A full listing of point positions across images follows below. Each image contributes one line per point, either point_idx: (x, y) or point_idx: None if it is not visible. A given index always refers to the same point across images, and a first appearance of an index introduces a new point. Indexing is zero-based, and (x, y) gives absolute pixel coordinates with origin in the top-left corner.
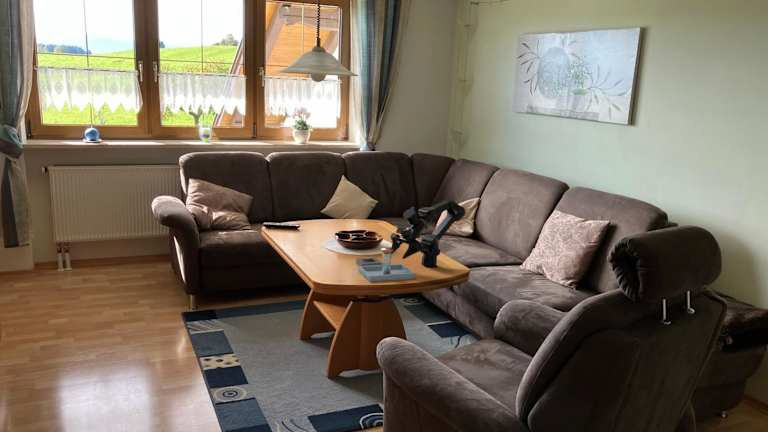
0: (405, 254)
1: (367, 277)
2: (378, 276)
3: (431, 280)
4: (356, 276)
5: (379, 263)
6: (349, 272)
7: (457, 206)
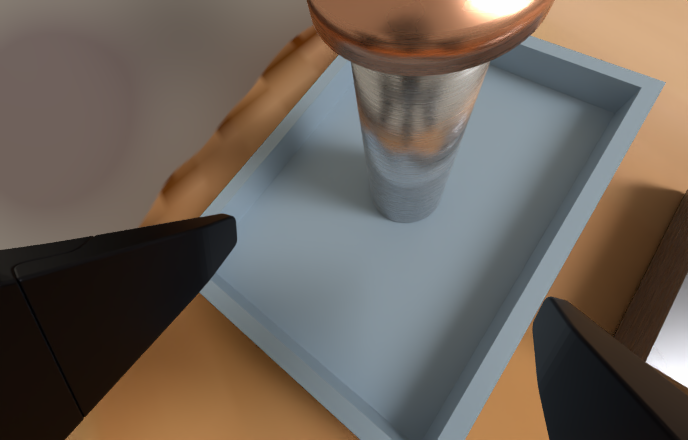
0: (159, 225)
1: None
2: None
3: None
4: None
5: (652, 334)
6: (662, 68)
7: None
